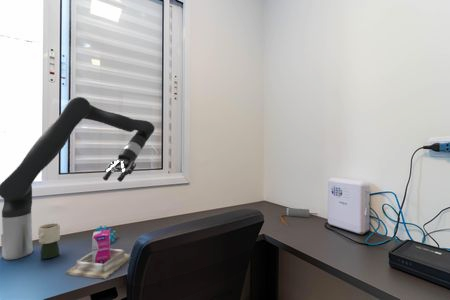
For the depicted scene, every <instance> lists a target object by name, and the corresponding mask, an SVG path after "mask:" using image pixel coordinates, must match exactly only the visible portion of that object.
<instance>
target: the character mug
mask: <svg viewBox="0 0 450 300" xmlns="http://www.w3.org/2000/svg"><path fill="white" fill-rule="evenodd" d="M60 226H61V225H60V223H58V222H51V223H46V224H43V225H40V226H38V232H37V233H38V242H39V244H42V245H41V250H40V259H50V258H55V257H57V256H58V255H60V248H59V247H60V246H59V244H58V243H59V242H58V241H59V240H60V239H61V229H60V228H61V227H60Z"/></svg>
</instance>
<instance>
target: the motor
mask: <svg viewBox="0 0 450 300" xmlns="http://www.w3.org/2000/svg"><path fill="white" fill-rule="evenodd" d="M310 215H319V213H315V212H313V213H312V212H310V209H309V208H308V209H307V208H293V207H291V208H290V207H287V208H286V216H288V217H299V218H310ZM282 216H285V214H281V215H280V219H281V222H282V223H284V224H285V225H286V226H288V225H289V224H288V223H287V221H285V220H284V219H283V217H282Z"/></svg>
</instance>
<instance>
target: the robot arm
mask: <svg viewBox="0 0 450 300" xmlns="http://www.w3.org/2000/svg"><path fill="white" fill-rule="evenodd" d="M83 119H84V120H90V121H95V122H98V123H101V124H105V125H108V126H111V127H113V128H116V129H118V130H123V131H125V132H128V133H131V132H134V131H136V133H135V134H134V135H133V136H132V137H131V139H130V140H129V141H128V143H127V144H125V146H124V148H123V149H122V150H121V151H120V152H119V154H118V156H117V160H116V161H114V160H111V161H110V162H108V164H107V165H106V167H105V168H104V169H103V170H104V171H105V174H104V175H103V176H102V180H103V181H108V180H109V178H110V177H111V176H112V174H114V173H116V172H118V171H122V172H121V173H120V174H119V176H117V181H118V182H121V183H122V181H123V180H124V179H125V178H126V176H128V175H131V174H132V173H133V171H134V170H135V168H136V167H137V164H136V162H135V161H136V160H137V159H138V156H139V155H140V154H141V151H142V150H143V148H144V147H145V144H146V142H147V141H148V140H149V139H150V137H151V136H152V135H153V133H154V132H155V130H156V129H155V126H154V124H153V123H152V122H151V121H148V120H144V119H143V120H142V119H134V118H131V117H129V116H125V115H123V114H119V113H115V112H110V111H107V110H103V109H100V108H98V107H96V106H94V105H92V104H91V103H90V102H89V101H88V99H87V98H85V97H82V96H76V97H72V98H71V99H69V100H68V102H67V104H66V105H65V107H64V108H63V110H62V111H61V113H60V115H59V116H58V118H56V120H55V121H54V122H53V123H52V124H50V126H49V127H48V128H47V129H46V130H45V131H44V132H43V133H42V134H41V136H40V137H39V138H38V139H37V140H36V142H35V143H34V144H33V146H31V148H30V149H29V151H28V152H27V153H26V155H25V157H24V158H23V160H22V161H21V162H20V164H19V165H18V166H17V167H16V169H15V170H13V171H12V172H11V174H9V176H7V177H6V178H5V179H4V180H3V181H2V182H1V183H0V197H1V198H2V199H3V207H2V209H1V221H2V222H1V224H2V227H1V228H2V229H1V230H2V234H0V240H1V241H0V242H1V257H2V258H3V260H7V261H8V260H16V259H20V258H24V257H26V256H28V255H30V254H32V253H33V227H32V226H33V222H32V205H33V186H32V184H33V183H34V181H35V179H36V178H37V177H38V175H39V174H40V173H41V172H42V171H43V170H44V169H45V168H46V167H47V166H48V165H49V164H50V163H52V161H53V160H54V159H55V158H56V157H57V156H58V154H60V152H61V150H62V149H63V148H64V146H65V145H66V143H67V142H68V140H69V139H70V136H71V135H72V133H73V131H74V130H75V128H76V127H77V126H78V125H79V123H80V122H81V121H83Z"/></svg>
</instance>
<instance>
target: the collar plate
mask: <svg viewBox="0 0 450 300" xmlns="http://www.w3.org/2000/svg"><path fill="white" fill-rule="evenodd" d="M130 254H131V253H126V252H125V250H124V249H120V248H119V249H118V248H110V260H108V261H107V262H105V263H104V264H100V263H93V254H92V251H91V252H89V253H88V254H86V255H84V256H83V257H81V258H79V259H78V260H76V261H75V265H74V266H72V267H71V268H69V269H67V270H66V272H65V275H70V276H76V277H86V278H92V279H93V278H95V279H101V278H104V280H106V279H108V278H109V277H110V276H111V275H112V274H114V273H115V272H116V271H117V270H118V269H120V268H121V267H122V266H123V265H125V263H127V262H128V261H129V260H130V259H129V257H130ZM120 266H121V267H120ZM115 270H116V271H115ZM114 271H115V272H114ZM110 274H111V275H110ZM109 275H110V276H109Z"/></svg>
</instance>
